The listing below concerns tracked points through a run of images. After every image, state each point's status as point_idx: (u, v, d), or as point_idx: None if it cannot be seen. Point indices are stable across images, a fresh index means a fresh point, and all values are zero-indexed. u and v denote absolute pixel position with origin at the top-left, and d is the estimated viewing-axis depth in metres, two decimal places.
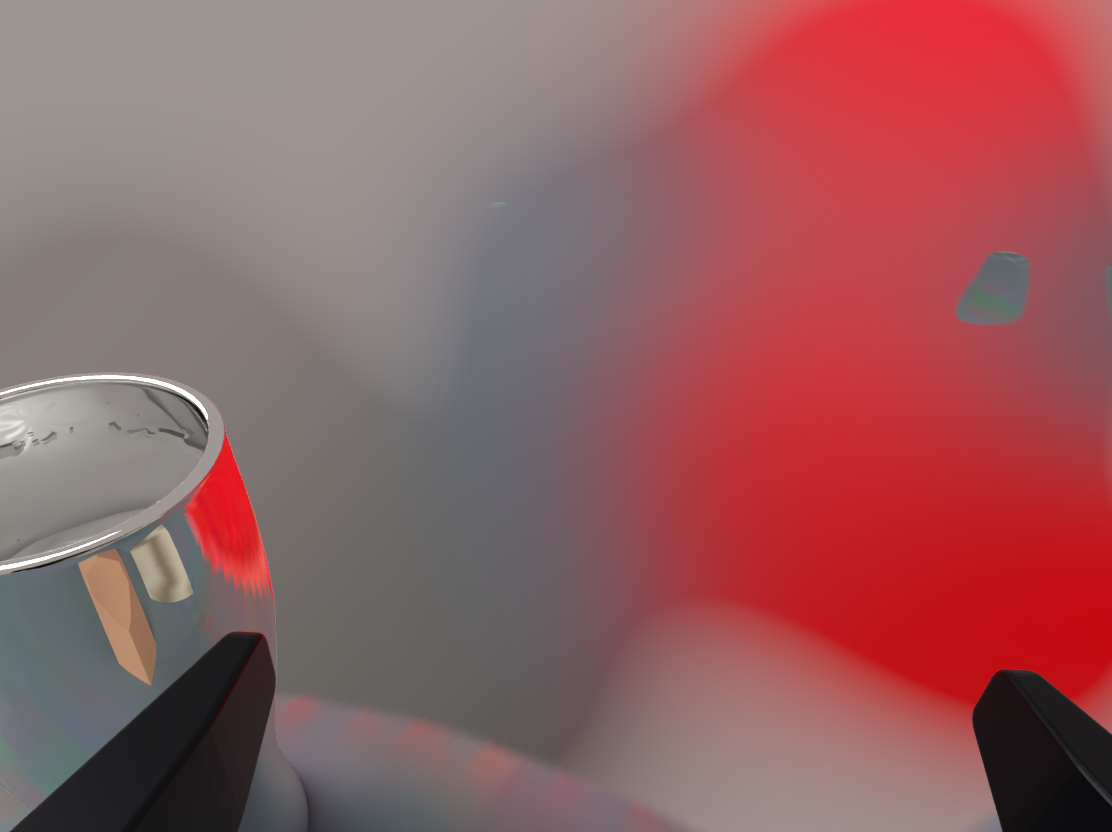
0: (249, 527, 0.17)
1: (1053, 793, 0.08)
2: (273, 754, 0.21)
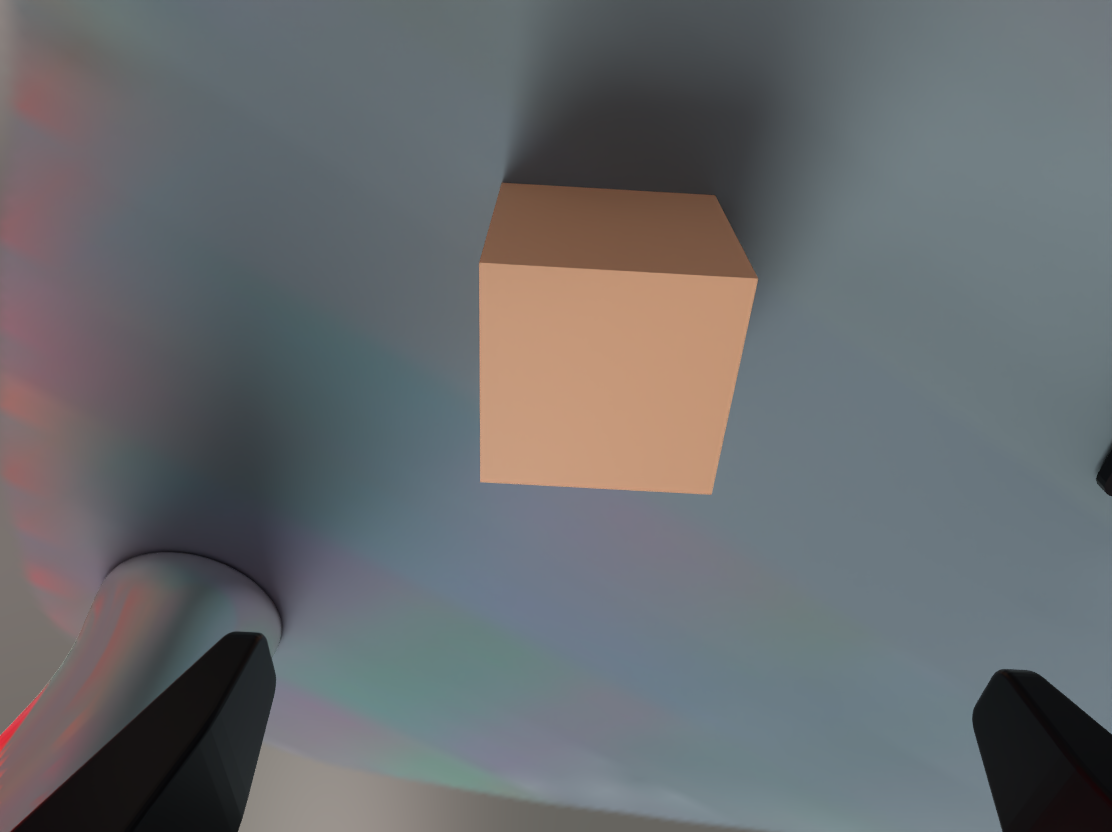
0: None
1: (1053, 793, 0.08)
2: (93, 670, 0.21)
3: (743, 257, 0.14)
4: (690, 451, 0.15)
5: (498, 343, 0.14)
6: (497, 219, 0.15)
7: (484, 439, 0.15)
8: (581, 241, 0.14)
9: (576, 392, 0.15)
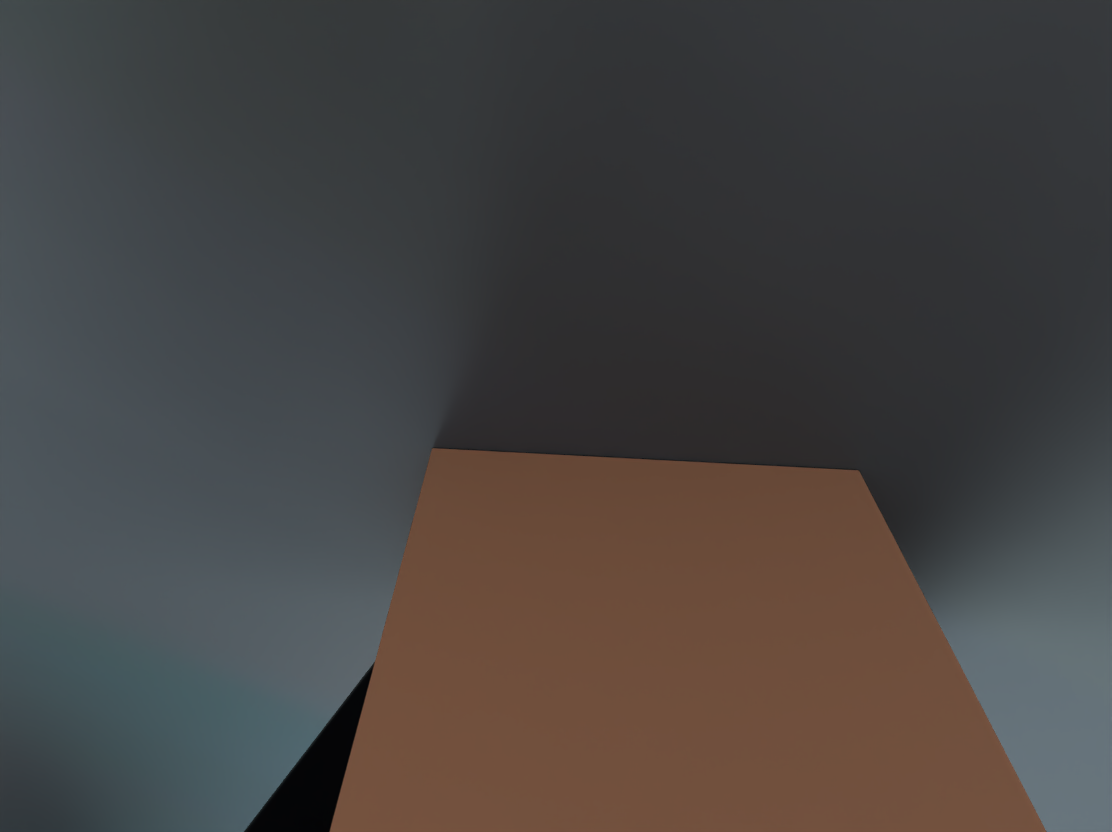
0: None
1: None
2: None
3: (1025, 806, 0.05)
4: None
5: None
6: (397, 632, 0.06)
7: None
8: (599, 743, 0.06)
9: None
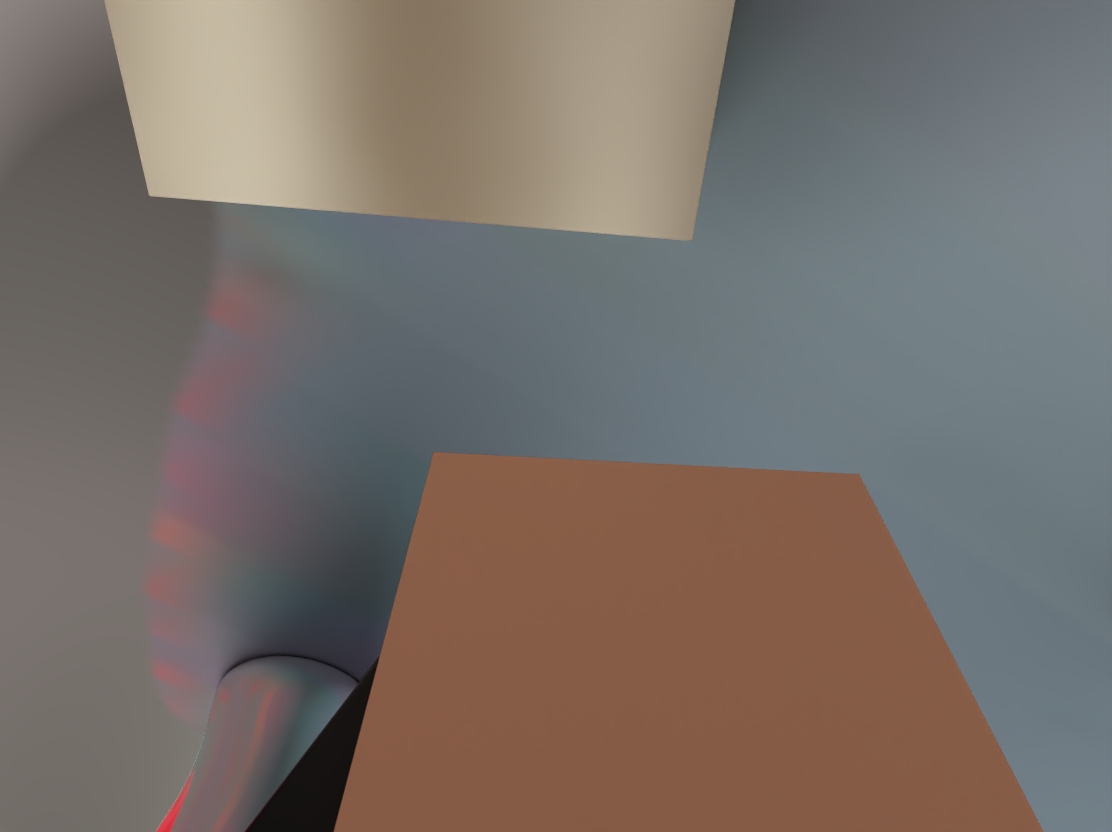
0: None
1: None
2: (232, 774, 0.23)
3: (1024, 811, 0.05)
4: None
5: None
6: (400, 636, 0.06)
7: None
8: (600, 749, 0.06)
9: None
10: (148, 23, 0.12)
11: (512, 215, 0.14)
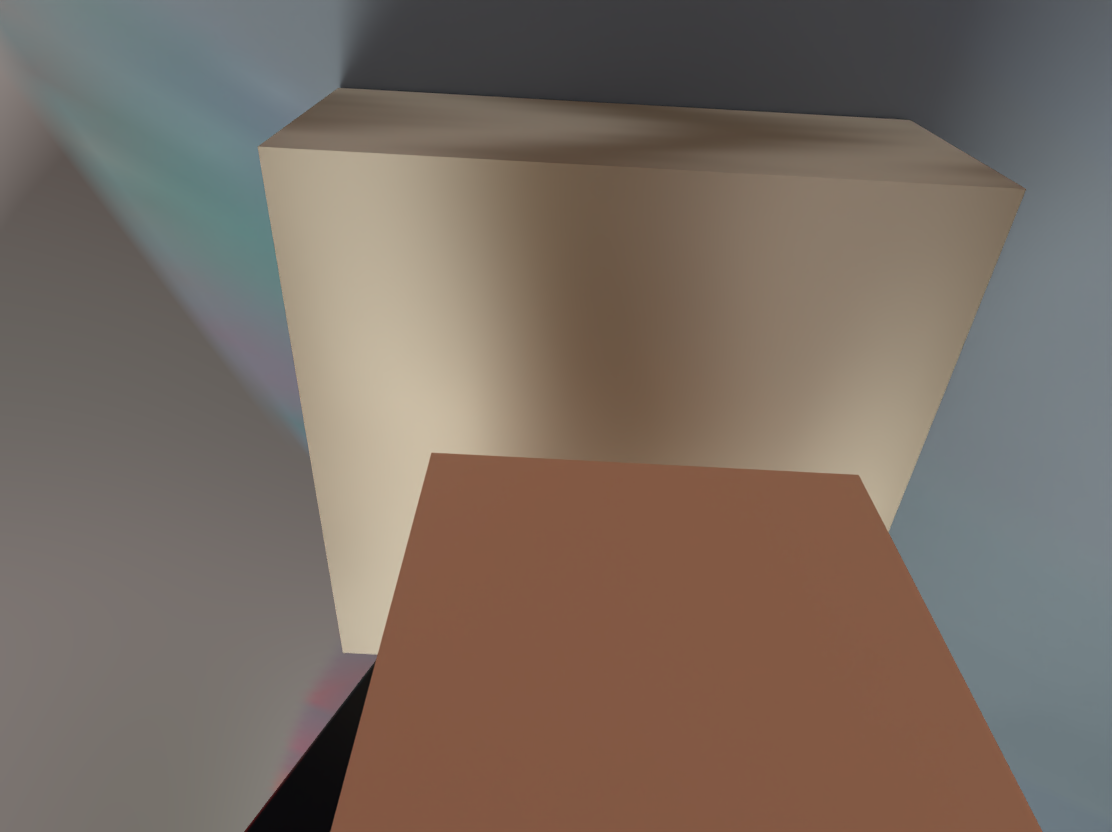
0: None
1: None
2: None
3: (1024, 815, 0.05)
4: None
5: None
6: (397, 638, 0.06)
7: None
8: (598, 752, 0.06)
9: None
10: (360, 551, 0.14)
11: None
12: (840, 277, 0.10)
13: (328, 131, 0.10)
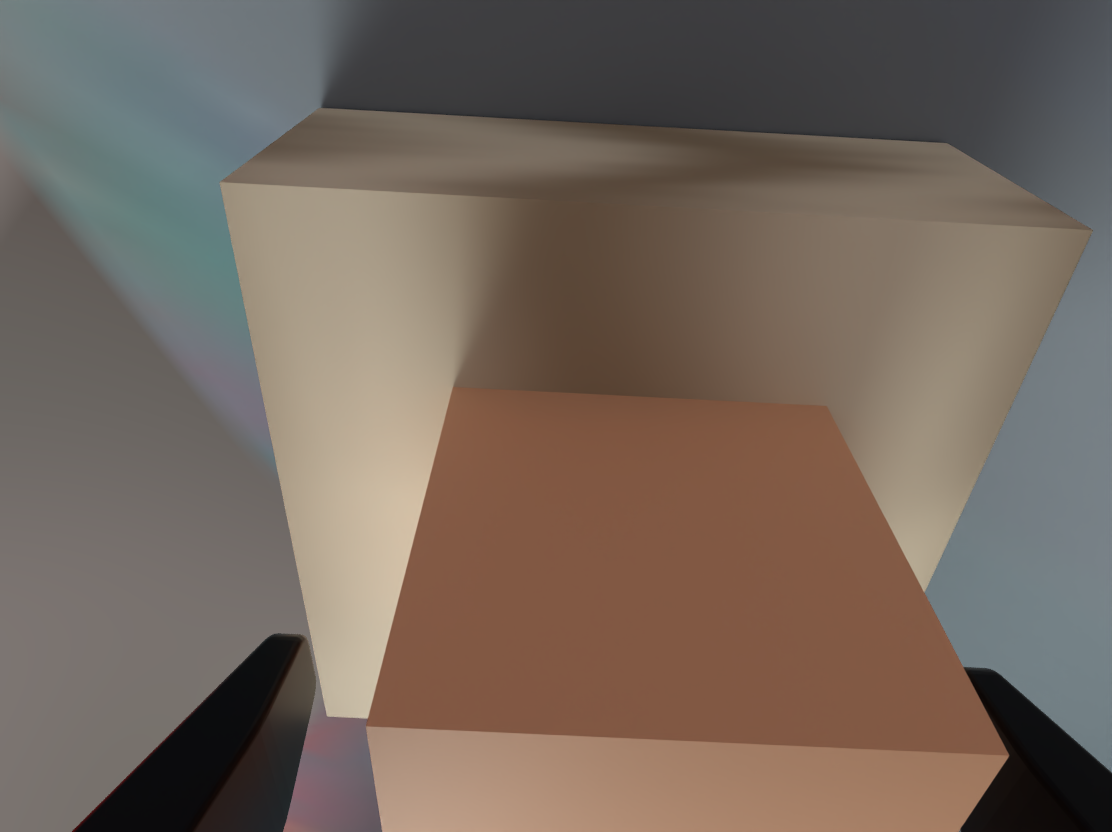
0: None
1: (1006, 791, 0.08)
2: None
3: (946, 648, 0.07)
4: None
5: None
6: (430, 523, 0.08)
7: None
8: (599, 603, 0.07)
9: None
10: (344, 614, 0.12)
11: None
12: (878, 326, 0.09)
13: (302, 162, 0.09)
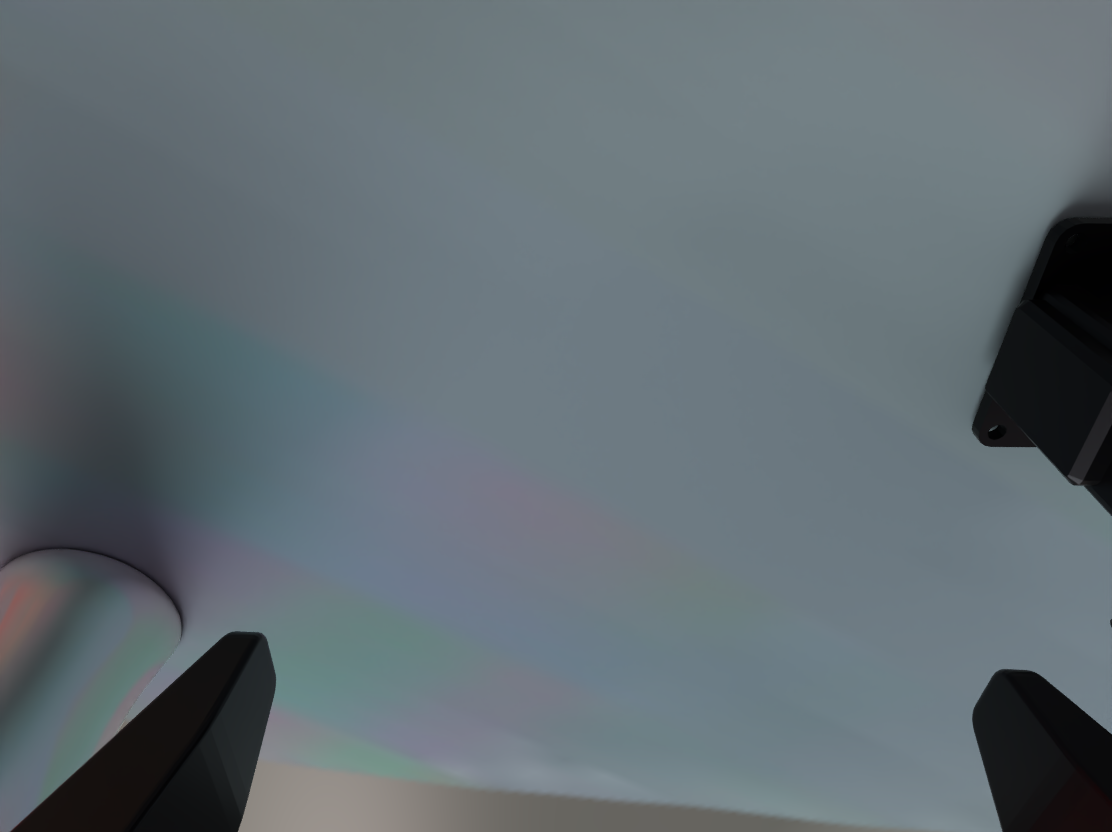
0: None
1: (1053, 793, 0.08)
2: None
3: None
4: None
5: None
6: None
7: None
8: None
9: None
10: None
11: None
12: None
13: None
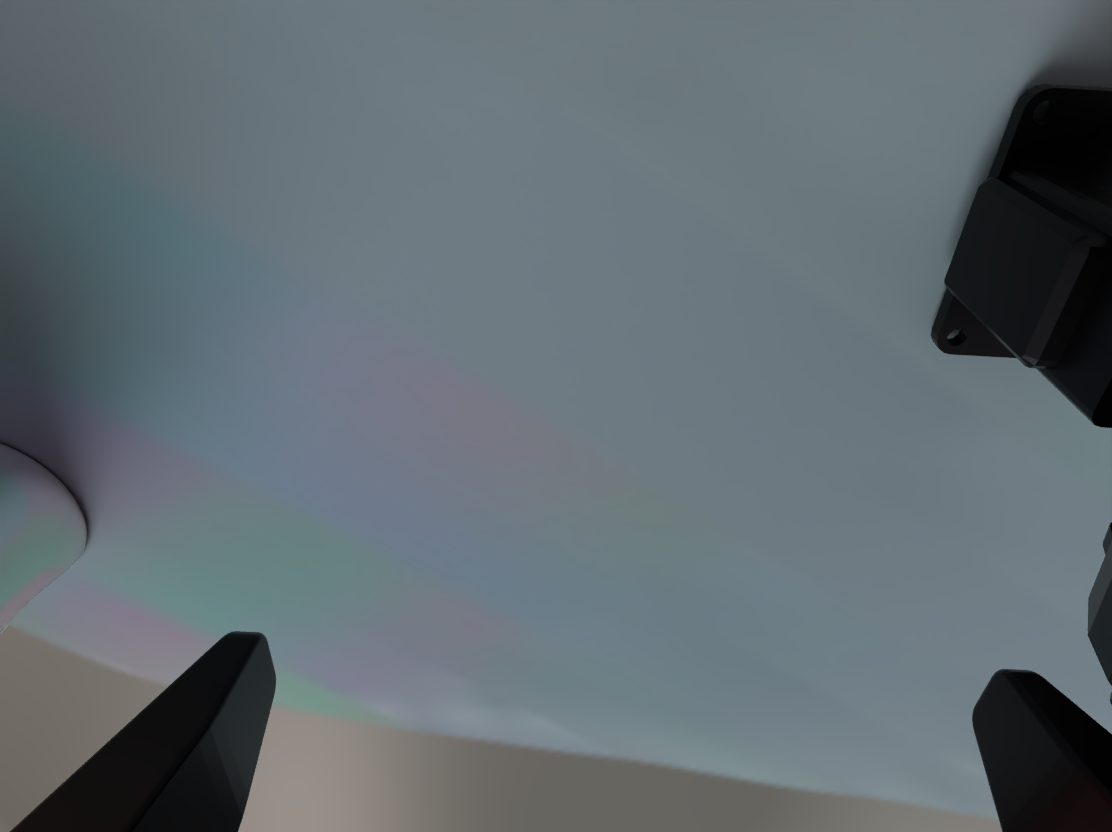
0: None
1: (1053, 793, 0.08)
2: None
3: None
4: None
5: None
6: None
7: None
8: None
9: None
10: None
11: None
12: None
13: None
